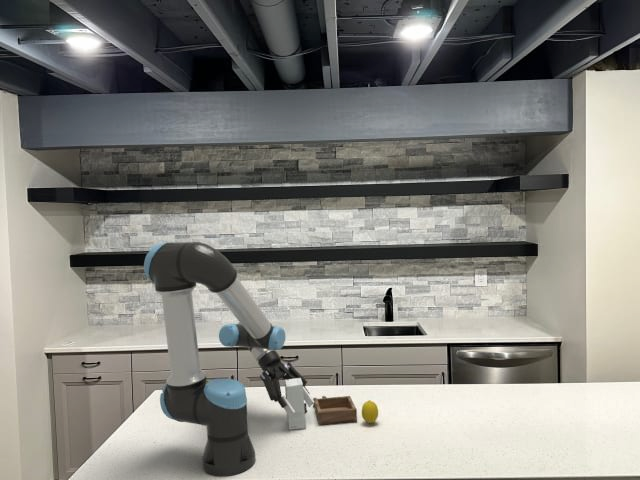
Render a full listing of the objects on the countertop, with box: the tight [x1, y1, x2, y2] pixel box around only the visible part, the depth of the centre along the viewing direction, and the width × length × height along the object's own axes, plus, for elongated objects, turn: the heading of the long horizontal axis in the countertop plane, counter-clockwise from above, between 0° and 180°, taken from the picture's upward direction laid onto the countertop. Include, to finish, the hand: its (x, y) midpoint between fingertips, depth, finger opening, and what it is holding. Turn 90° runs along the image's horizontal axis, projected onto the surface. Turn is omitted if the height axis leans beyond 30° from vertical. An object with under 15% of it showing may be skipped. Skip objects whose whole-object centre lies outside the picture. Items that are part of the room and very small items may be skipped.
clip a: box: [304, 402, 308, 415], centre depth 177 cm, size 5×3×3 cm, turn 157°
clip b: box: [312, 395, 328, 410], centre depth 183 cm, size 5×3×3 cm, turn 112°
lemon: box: [361, 399, 379, 425], centre depth 166 cm, size 6×6×8 cm
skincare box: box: [284, 378, 307, 431], centre depth 168 cm, size 8×6×15 cm
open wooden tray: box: [314, 395, 358, 427], centre depth 173 cm, size 13×13×4 cm
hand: (302, 409), depth 166 cm, fingers closed on skincare box, 9 cm apart
